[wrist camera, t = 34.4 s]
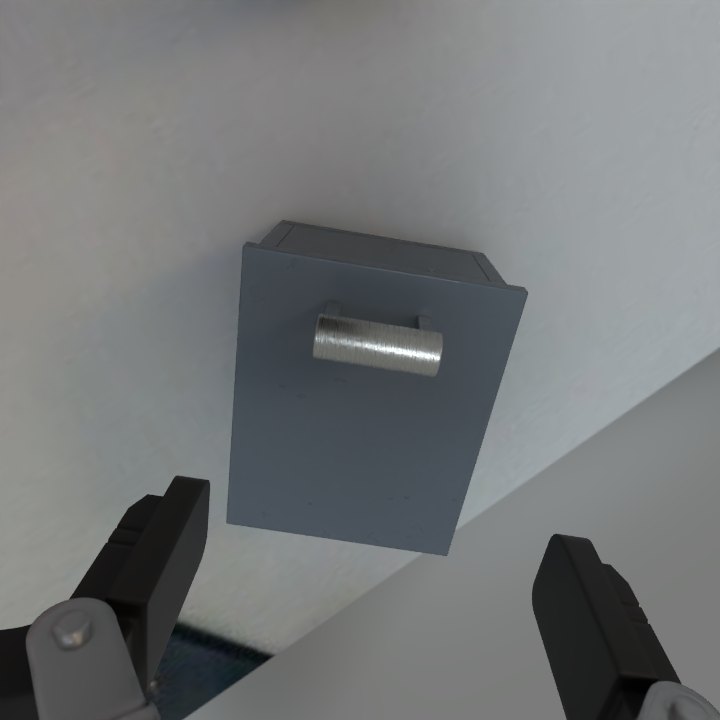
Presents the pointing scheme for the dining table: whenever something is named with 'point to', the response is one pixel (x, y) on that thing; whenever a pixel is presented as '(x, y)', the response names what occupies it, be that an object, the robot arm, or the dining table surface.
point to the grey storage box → (382, 250)
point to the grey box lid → (362, 396)
